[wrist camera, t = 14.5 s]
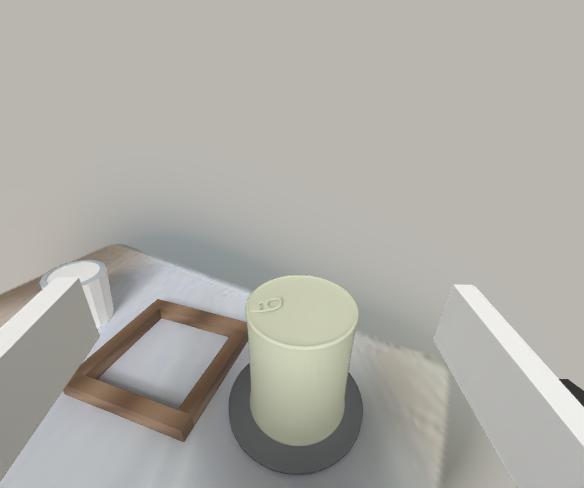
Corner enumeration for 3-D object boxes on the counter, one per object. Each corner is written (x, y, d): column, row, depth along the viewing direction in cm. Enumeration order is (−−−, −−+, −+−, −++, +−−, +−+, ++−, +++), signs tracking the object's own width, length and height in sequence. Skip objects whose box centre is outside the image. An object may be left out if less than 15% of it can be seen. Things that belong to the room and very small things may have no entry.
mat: (202, 442, 27) (201, 438, 27) (261, 339, 38) (261, 335, 38) (350, 500, 24) (351, 496, 23) (368, 368, 35) (369, 365, 34)
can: (249, 364, 34) (244, 272, 28) (331, 357, 35) (341, 267, 30) (251, 453, 26) (244, 349, 20) (357, 439, 27) (378, 337, 21)
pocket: (64, 393, 31) (59, 382, 30) (159, 308, 43) (157, 299, 42) (184, 441, 27) (181, 430, 26) (252, 333, 39) (251, 323, 38)
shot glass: (72, 303, 43) (56, 260, 40) (125, 299, 44) (113, 256, 41) (47, 339, 37) (25, 292, 34) (109, 333, 38) (93, 287, 35)
